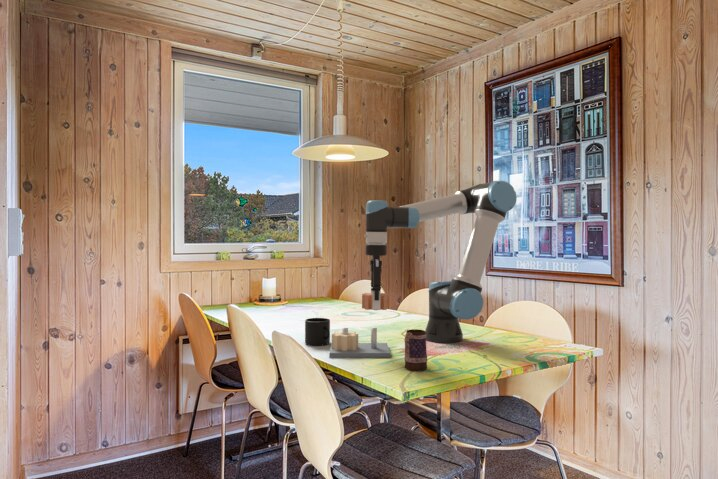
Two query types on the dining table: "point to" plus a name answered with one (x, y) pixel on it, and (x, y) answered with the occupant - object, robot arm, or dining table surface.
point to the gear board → (356, 345)
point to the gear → (368, 301)
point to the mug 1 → (317, 331)
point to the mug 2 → (415, 350)
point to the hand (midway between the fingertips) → (375, 307)
